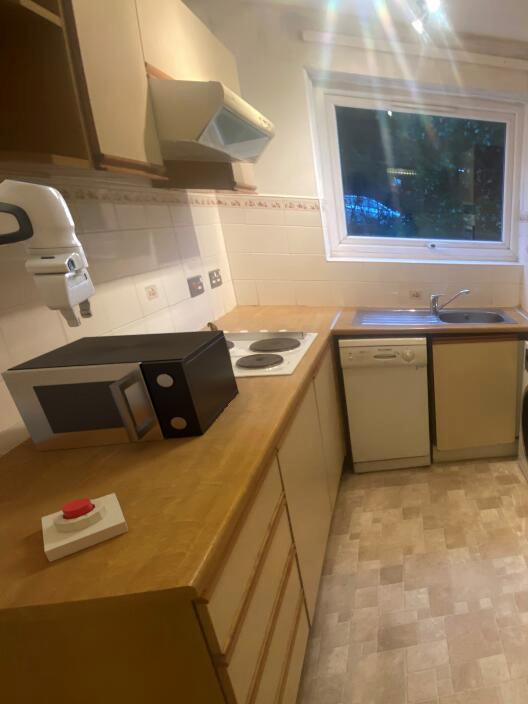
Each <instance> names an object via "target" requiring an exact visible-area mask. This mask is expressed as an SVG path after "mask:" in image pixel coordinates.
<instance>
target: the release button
mask: <svg viewBox="0 0 528 704" xmlns="http://www.w3.org/2000/svg"><path fill="white" fill-rule="evenodd" d="M90 500H91V499H90V498H79V499H75V500H72V501H70V502H68V503H66V504H65V505H64V506H62V508H61V510H62V511H63V513H64V516H65V518H66V519H74V518H78V517H81V516H83V515H86V514H87V513H89V512H91V511H92V510H93V506H92V503H91V501H90Z"/></svg>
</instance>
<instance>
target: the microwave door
mask: <svg viewBox="0 0 528 704" xmlns="http://www.w3.org/2000/svg"><path fill="white" fill-rule="evenodd" d="M141 364H142V362H136V363H121V364H105V365H89V366H73V367H57V368H41V369H25V370H9V371H7V370H5V371H2V372H0V375H1V377H2V379H3V381H4V384H5V385H6V388H7V390H8V392H9V394H10V396H11V398H12V401H13V402H14V405H15V407H16V409H17V411H18V413H19V415H20V418H21V420H22V421H23V424H24V426H25V428H26V431H27V433H28V434H29V436H30V439H31V440H32V443H33V445H34V447H35V449H36V451H37V452H38V453H39V452H49V451H51V452H52V451H60V450H61V451H62V450H69V449H70V450H73V449H80V448H91V447H100V446H101V447H102V446H112V445H120V444H121V445H122V444H133V443H141V442H143V443H144V442H151V441H152V442H153V441H162V440H165V439H166V436H165V433H164V430H163V427H162V424H161V421H160V418H159V415H158V412H157V409H156V406H155V403H154V400H153V397H152V394H151V391H150V388H149V386H148V383H147V380H146V377H145V374H144V371H143V368H142V365H141Z"/></svg>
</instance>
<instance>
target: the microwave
mask: <svg viewBox="0 0 528 704" xmlns="http://www.w3.org/2000/svg"><path fill="white" fill-rule="evenodd" d="M225 338H226V336H225V333H224V329H218V330H217V331H211V330H200V331H199V330H197V331H180V332H178V331H177V332H162V333H161V332H159V333H140V334H139V333H137V334H121V335H120V334H119V335H101V336H99V335H98V336H83V337H81V338H79V339H76V340H74V341H72V342H69V343H66V344H64V345H62V346H60V347H57V348H54V349H52V350H50V351H48V352H45V353H43V354H41V355H38V356H35V357H33V358H31V359H28V360H27V361H24V362H22V363H20V364H17V365H14V366H11V367H10V368H7V369H6V371H9V370H25V369H41V368H57V367H73V366H89V365H105V364H121V363H136V362H142V364H141V365H142V368H143V371H144V374H145V377H146V380H147V383H148V386H149V388H150V391H151V394H152V397H153V400H154V403H155V406H156V409H157V412H158V415H159V418H160V421H161V424H162V427H163V430H164V433H165V436H166V438H165V439H167V440H169V439H176V438H187V437H188V438H189V437H197V436H204V434H206V433H207V431H209V429H210V428H211V427H212V425H213V424H214V423H215V422H216V421H217V420H218V419H219V417H220V416H221V415H222V414H223V413H224V411H225V410H226V409H227V408H228V406H229V405H230V404H231V403H232V402H233V401H234V400H235V398H236V397H237V396H238V395H239V394H240V392H239V388H238V384H237V380H236V376H235V372H234V369H233V363H232V364H231V362H232V359H231V360H230V356H231V355H230V356H229V352H230V351H229V352H228V348H227V344H226V340H227V339H226V340H225ZM238 393H239V394H238ZM237 394H238V395H237ZM236 395H237V396H236ZM235 396H236V397H235ZM234 397H235V398H234ZM233 399H234V400H233ZM231 401H232V402H231ZM230 402H231V403H230ZM229 403H230V404H229ZM228 404H229V405H228ZM226 407H227V408H226ZM225 408H226V409H225ZM224 409H225V410H224ZM221 413H222V414H221ZM220 414H221V415H220ZM216 419H217V420H216Z"/></svg>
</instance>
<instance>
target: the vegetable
mask: <svg viewBox="0 0 528 704" xmlns="http://www.w3.org/2000/svg"><path fill="white" fill-rule="evenodd" d="M206 326H207V327H208V328H210V331H217V330H219V328H218V327H217V325H216V324H215V323H214V322H211V321H209V322H207V323H206ZM225 340H226V344H227V348H228V352H229V356H230V360H231V364H232V365H233V363H232V356H231V352H230V347H229V344H228V341H227V338H226V337H225Z"/></svg>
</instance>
